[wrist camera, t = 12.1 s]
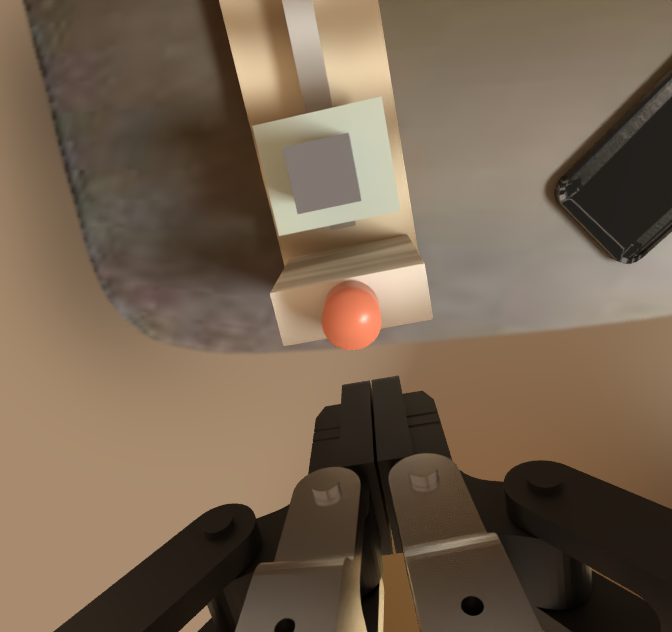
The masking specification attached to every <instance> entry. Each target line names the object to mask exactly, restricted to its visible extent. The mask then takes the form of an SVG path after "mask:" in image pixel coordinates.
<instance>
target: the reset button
mask: <svg viewBox="0 0 672 632" xmlns="http://www.w3.org/2000/svg"><path fill="white" fill-rule="evenodd" d="M322 328H323V332H324V334H325V336H326V337H327V338H328V340H329V341H330V342H331V343H332V344H334V345H335V346H337V347H339V348H342V349H346V350H357V349H361V348H364V347H366V346H368V345H369V344H371V343H372V342H373V341H374V340H375V339H376V337H377V336H378V334H379V332H380V329H381V314H380V308H379V301H378V298H377V296H376V294H375V292H374V291H373V290H372V289H371V288H370V287H369V286H368V285H366V284H364V283H362V282H359V281H344V282H341V283H339V284H337V285H336V286H334V287H333V288H332V289H331V290H330V292H329V293H328V295H327V297H326V300H325V304H324V310H323V315H322Z"/></svg>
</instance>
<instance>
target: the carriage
mask: <svg viewBox="0 0 672 632" xmlns="http://www.w3.org/2000/svg"><path fill="white" fill-rule="evenodd" d="M252 128H253V132H254V136H255V140H256V144H257V148H258V152H259V156H260V160H261V165H262V169H263V173H264V177H265V181H266V185H267V189H268V193H269V197H270V201H271V205H272V209H273V214H274V218H275V222H276V226H277V230H278V234H279V236H282V235H287V234H291V233H296V232H301V231H306V230H311V229H316V228H321V227H326V226H330V225H335V224H340V223H345V222H350V221H355V220H360V219H365V218H369V217H374V216H379V215H384V214H389V213H394V212H399V211H401V210H400V204H399V198H398V192H397V186H396V180H395V174H394V168H393V162H392V156H391V150H390V144H389V138H388V132H387V126H386V120H385V114H384V108H383V101H382V96H381V97H377V98H372V99H368V100H364V101H359V102H355V103H350V104H346V105H342V106H337V107H333V108H329V109H324V110H320V111H315V112H311V113H307V114H302V115H298V116H294V117H289V118H285V119H280V120H276V121H272V122H267V123H263V124H259V125H254V126H252Z"/></svg>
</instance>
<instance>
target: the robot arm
mask: <svg viewBox="0 0 672 632" xmlns="http://www.w3.org/2000/svg"><path fill="white" fill-rule="evenodd" d="M314 432H315V433H314V436H313V444H312V452H311V458H310V465H309V473H308V475H307V476H305V477H304V478H303V479H302V480H301V481H300V482H299V483H298V484H297V486H296V487H295V489H294V491H293V495H292V498H291V502H290V504H289V505H288V506H286V507H284V508H282V509H280V510H278V511H275V512H273V513H270V514H268V515H265V516H262V517H260V518H257V519H256V517H255V514H254V512H253V511H252V509H251V508H249V507H248V506H246V505H243V504H226V505H222V506H218V507H216V508H213V509H211V510H209V511H207V512H205V513H204V514H202V515H201V516H200V517H198V518H197V519H196V520H194V521H193V522H192V523H191V524H189V525H188V526H187V527H186V528H184V529H183V530H182V531H180V532H179V533H178V534H177V535H175V536H174V537H173V538H172V539H170V540H169V541H168V542H167V543H165V544H164V545H163V546H162V547H160V548H159V549H158V550H156V551H155V552H154V553H153V554H151V555H150V556H149V557H148V558H146V559H145V560H144V561H142V562H141V563H140V564H139V565H137V566H136V567H135V568H134V569H132V570H131V571H130V572H128V573H127V574H126V575H125V576H123V577H122V578H121V579H120V580H118V581H117V582H116V583H115V584H113V585H112V586H111V587H109V588H108V589H107V590H106V591H104V592H103V593H102V594H101V595H99V596H98V597H97V598H95V599H94V600H93V601H92V602H91V603H89V604H88V605H87V606H85V607H84V608H83V609H82V610H80V611H79V612H78V613H76V614H75V615H74V616H73V617H72V618H71V619H69V620H68V621H66V622H65V623H64V624H63V625H61V626H60V627H59V628H57V629H56V630H55V631H54V632H178V631H180V630H181V629H182V628H183V627H184V626H185V625H186V624H187V623H188V622H189V621H190V620H191V619H192V618H193V617H194V616H196V614H198V613H199V612H200V611H201V610H202V609H203V608H204V607H205V606H206V605H207V606H208V608H209V611H210V613H211V616H212V618H211V619H210V620H209V621H208V622H207V623H206V624H205V625H204V626H203V627H202V628H201V629H200V630H199V631H198V632H383V613H384V585H383V581H382V573H383V567H382V566H383V565H382V555H389V554H393V548H392V537H391V530H392V535H393V540H394V545H395V549H396V553H403V555H404V560H405V565H406V570H407V575H408V580H409V585H410V590H411V595H412V599H413V604H414V609H415V613H416V618H417V622H418V627H419V632H543V631H544V632H672V509H670V508H667V507H665V506H662V505H660V504H658V503H655V502H653V501H650V500H648V499H646V498H643V497H641V496H638V495H636V494H634V493H631V492H629V491H626V490H624V489H622V488H619V487H617V486H614V485H612V484H610V483H607V482H605V481H602V480H600V479H597V478H595V477H593V476H590V475H588V474H585V473H583V472H581V471H578V470H576V469H574V468H571V467H569V466H566V465H564V464H561V463H557V462H552V461H541V460H540V461H530V462H525V463H522V464H519V465H517V466H515V467H514V468H512V469H511V470H510V471H509V472H508V473H507V474H506V476H505V479H504V482H498V481H488V480H481V479H477V478H474V477H471V476H469V475H467V474H464V473H463V472H462V471H460V470H459V469H458V467H457V465H456V464H455V463H454V462H453V461H452V458H451V455H450V451H449V448H448V445H447V442H446V438H445V435H444V432H443V429H442V425H441V422H440V418H439V415H438V413H437V408H436V405H435V402H434V399H432V398H431V397H430V396H429V395H427V394H426V393H425V392H423V391H418V392H412V393H406V394H402V390H401V384H400V379H399V376H393V377H387V378H381V379H375V380H372V388H371V384H370V381H363V382H357V383H351V384H345V385H342V398H341V404H338V405H332V406H326V407H325V408H324V409H323V410H322V411H321V413H320V414H319V415H318V416H317V418H316V422H315V429H314ZM390 525H391V526H390ZM592 569H594V570H596V571H598V572H599V573H601V574H603V575H605V576H606V577H608V578H610V579H612V580H614V581H615V582H617V583H619V584H621V585H622V586H624V587H626V588H628V589H629V590H631V591H633V592H635V593H636V594H638V595H639V596H641V597H642V598H643V599H644V600H643V599H641V598H639V597H638V596H636V595H634V594H632V593H631V592H628V591H627V590H625V589H624V588H622V587H620V586H618V585H616V584H615V583H613V582H611V581H609V580H607V579H606V578H604V577H602V576H601V575H599V574H597V573H595V572H594V571H592Z"/></svg>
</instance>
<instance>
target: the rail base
mask: <svg viewBox="0 0 672 632" xmlns="http://www.w3.org/2000/svg"><path fill="white" fill-rule="evenodd" d="M219 2H220V6H221V10H222V14H223V18H224V23H225V27H226V31H227V35H228V39H229V43H230V47H231V51H232V55H233V59H234V63H235V67H236V71H237V75H238V79H239V83H240V88H241V92H242V96H243V100H244V104H245V108H246V112H247V116H248V120H249V124H250V128H251V132H252V136H253V140H254V144H255V148H256V153H257V157H258V161H259V165H260V169H261V173H262V177H263V181H264V185H265V189H266V193H267V197H268V201H269V205H270V209H271V213H272V218H273V222H274V226H275V230H276V234H277V238H278V242H279V246H280V250H281V254H282V258H283V262H284V266H285V268H284V269H283V271H282V273H281V275H280V276H279V278H278V280H277V282H276V283H275V285H274V287H273V289H272V290H271V292H270V295H271V299H272V303H273V307H274V311H275V315H276V319H277V322H278V326H279V330H280V334H281V338H282V342H283V345H284V346H288V345H293V344H299V343H304V342H310V341H315V340H321V339H326V338H327V337H326V336H325V334H324V332H323V328H322V315H323V310H324V304H325V300H326V297H327V295H328V293H329V292H330V290H331V289H332V288H333V287H334V286H336V285H337V284H339V283H341V282H344V281H359V282H362V283H364V284H366V285H368V286H369V287H370V288H371V289H372V290H373V291H374V292H375V294H376V296H377V298H378V301H379V308H380V314H381V328H386V327H392V326H397V325H403V324H408V323H414V322H419V321H425V320H430V319H433V315H432V308H431V302H430V295H429V289H428V283H427V276H426V270H425V263H424V262H423V260H422V258H421V257H420V255H419V253H418V248H417V242H416V236H415V229H414V223H413V217H412V211H411V204H410V198H409V192H408V185H407V179H406V173H405V167H404V160H403V154H402V148H401V141H400V135H399V129H398V123H397V116H396V110H395V104H394V97H393V91H392V85H391V79H390V72H389V66H388V60H387V53H386V47H385V41H384V35H383V28H382V22H381V16H380V9H379V3H378V0H219ZM381 96H382V101H383V108H384V114H385V120H386V126H387V132H388V138H389V144H390V150H391V156H392V162H393V168H394V174H395V180H396V186H397V192H398V198H399V204H400V210H401V211H399V212H394V213H389V214H384V215H379V216H374V217H369V218H365V219H360V220H355V221H350V222H345V223H340V224H335V225H330V226H326V227H321V228H316V229H311V230H306V231H301V232H296V233H291V234H287V235H282V236H279V234H278V230H277V226H276V222H275V218H274V214H273V209H272V205H271V201H270V197H269V193H268V189H267V185H266V181H265V177H264V173H263V169H262V165H261V160H260V156H259V152H258V148H257V144H256V140H255V136H254V132H253V128H252V126H254V125H259V124H263V123H267V122H272V121H276V120H280V119H285V118H289V117H294V116H298V115H302V114H307V113H311V112H315V111H320V110H324V109H329V108H333V107H337V106H342V105H346V104H350V103H355V102H359V101H364V100H368V99H372V98H377V97H381Z"/></svg>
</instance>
